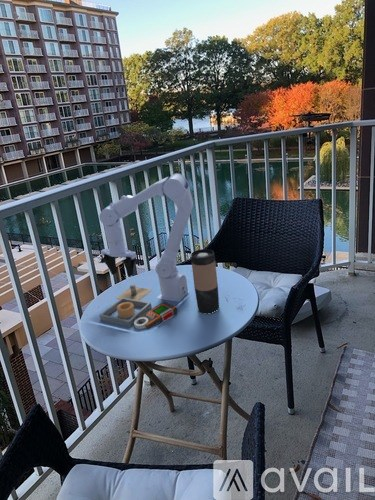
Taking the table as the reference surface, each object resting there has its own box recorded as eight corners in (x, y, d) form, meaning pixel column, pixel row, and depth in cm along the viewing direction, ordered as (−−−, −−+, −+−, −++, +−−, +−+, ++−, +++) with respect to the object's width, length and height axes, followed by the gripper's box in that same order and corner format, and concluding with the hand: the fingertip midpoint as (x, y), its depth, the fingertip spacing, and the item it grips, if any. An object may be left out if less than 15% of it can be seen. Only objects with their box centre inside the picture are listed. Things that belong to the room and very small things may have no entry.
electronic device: (129, 320, 118) (165, 299, 126) (131, 328, 119) (166, 307, 128) (141, 328, 113) (177, 305, 121) (143, 336, 114) (179, 313, 123)
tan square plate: (152, 291, 140) (151, 281, 138) (137, 304, 132) (135, 293, 130) (131, 287, 145) (129, 278, 143) (115, 299, 137) (113, 290, 135)
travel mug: (224, 306, 123) (219, 251, 116) (210, 316, 118) (203, 260, 111) (207, 300, 128) (201, 247, 121) (192, 310, 123) (185, 255, 116)
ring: (134, 316, 123) (132, 309, 122) (118, 319, 122) (116, 311, 121) (135, 306, 129) (133, 298, 128) (119, 308, 129) (118, 301, 128)
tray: (151, 308, 127) (150, 302, 126) (130, 328, 117) (129, 321, 116) (123, 303, 133) (122, 297, 132) (101, 321, 123) (99, 315, 122)
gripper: (138, 237, 129) (144, 272, 134) (107, 234, 136) (113, 268, 141) (126, 244, 123) (133, 280, 128) (94, 241, 130) (101, 276, 135)
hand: (122, 274), depth 134 cm, fingers open, 7 cm apart
